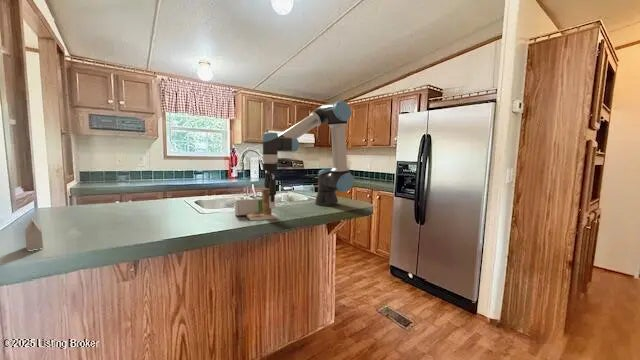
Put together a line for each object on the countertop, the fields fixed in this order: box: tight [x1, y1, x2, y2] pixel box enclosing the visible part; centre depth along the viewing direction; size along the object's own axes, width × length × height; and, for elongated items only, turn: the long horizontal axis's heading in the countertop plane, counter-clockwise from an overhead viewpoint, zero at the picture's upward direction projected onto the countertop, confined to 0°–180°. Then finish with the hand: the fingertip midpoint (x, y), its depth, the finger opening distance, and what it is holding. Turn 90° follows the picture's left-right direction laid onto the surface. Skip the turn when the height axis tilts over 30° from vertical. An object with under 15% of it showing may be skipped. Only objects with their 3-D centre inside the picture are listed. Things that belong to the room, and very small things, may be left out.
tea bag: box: [24, 217, 44, 251], centre depth 93 cm, size 4×7×10 cm, turn 48°
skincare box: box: [234, 198, 262, 216], centre depth 147 cm, size 8×7×16 cm
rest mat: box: [248, 212, 279, 222], centre depth 142 cm, size 14×9×1 cm, turn 114°
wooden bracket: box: [245, 187, 272, 219], centre depth 141 cm, size 12×6×14 cm, turn 113°
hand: (269, 206), depth 143 cm, fingers open, 8 cm apart
